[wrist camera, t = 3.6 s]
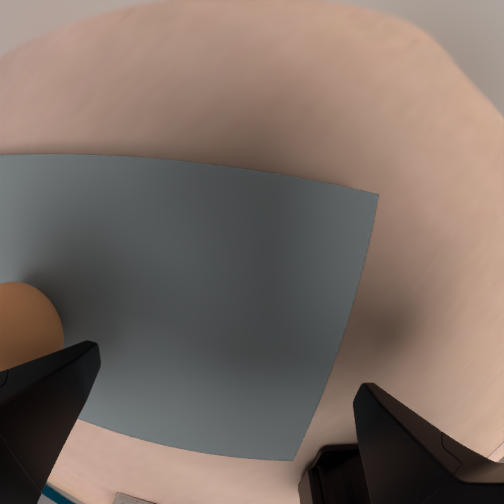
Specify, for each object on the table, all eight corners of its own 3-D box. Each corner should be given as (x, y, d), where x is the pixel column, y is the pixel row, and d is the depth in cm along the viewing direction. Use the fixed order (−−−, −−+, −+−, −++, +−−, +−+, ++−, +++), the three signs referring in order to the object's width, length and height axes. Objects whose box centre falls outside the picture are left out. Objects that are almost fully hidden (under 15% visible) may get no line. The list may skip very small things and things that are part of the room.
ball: (76, 277, 10) (9, 325, 6) (86, 363, 11) (42, 422, 7) (9, 260, 9) (-54, 292, 6) (22, 338, 10) (-26, 382, 7)
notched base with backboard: (350, 189, 12) (428, 205, 6) (288, 421, 15) (298, 507, 9) (-29, 158, 11) (-98, 166, 5) (-12, 339, 14) (-58, 378, 8)
